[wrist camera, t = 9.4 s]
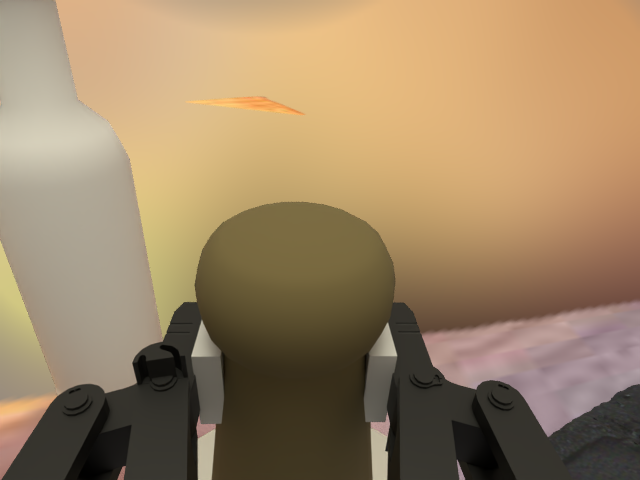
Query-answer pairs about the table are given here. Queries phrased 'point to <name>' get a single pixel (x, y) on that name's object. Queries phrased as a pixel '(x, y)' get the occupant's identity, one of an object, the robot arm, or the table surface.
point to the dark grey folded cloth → (603, 440)
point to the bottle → (69, 211)
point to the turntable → (376, 446)
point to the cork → (294, 339)
